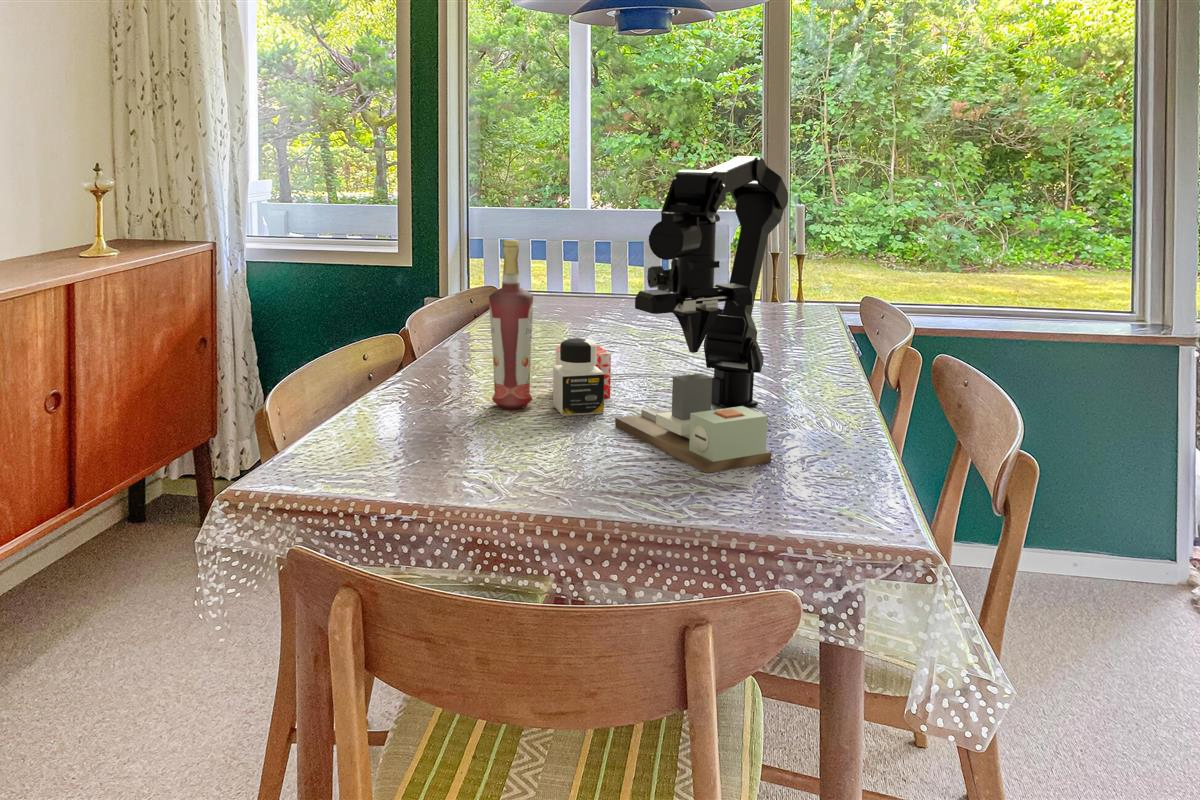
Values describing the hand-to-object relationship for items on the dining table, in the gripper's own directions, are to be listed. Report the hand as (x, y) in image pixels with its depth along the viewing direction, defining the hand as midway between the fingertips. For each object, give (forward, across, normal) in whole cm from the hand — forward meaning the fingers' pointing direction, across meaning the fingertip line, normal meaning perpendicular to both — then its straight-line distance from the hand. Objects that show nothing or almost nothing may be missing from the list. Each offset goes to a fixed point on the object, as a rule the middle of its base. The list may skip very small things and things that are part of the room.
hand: (693, 352), depth 166 cm
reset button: (+8, +6, +19) cm, 21 cm away
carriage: (+9, +6, +9) cm, 14 cm away
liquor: (+12, +21, -24) cm, 34 cm away
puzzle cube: (+12, +6, -26) cm, 30 cm away
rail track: (+12, +6, +9) cm, 16 cm away
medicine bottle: (+12, +12, -16) cm, 24 cm away
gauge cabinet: (+10, +7, +19) cm, 22 cm away
